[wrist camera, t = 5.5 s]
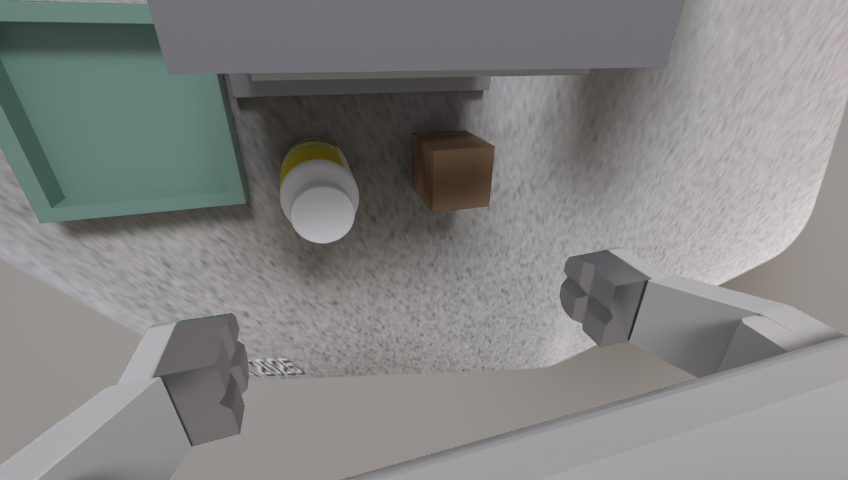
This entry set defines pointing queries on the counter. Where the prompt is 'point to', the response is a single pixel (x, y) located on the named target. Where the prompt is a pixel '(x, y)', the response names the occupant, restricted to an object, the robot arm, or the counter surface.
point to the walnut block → (452, 170)
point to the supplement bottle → (318, 190)
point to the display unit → (406, 41)
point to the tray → (109, 116)
